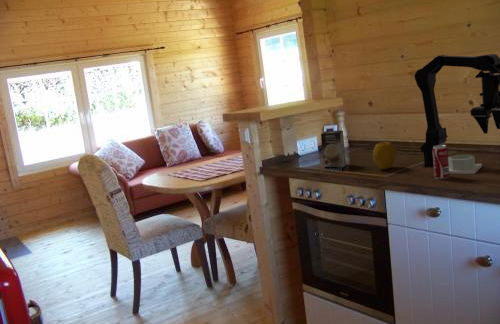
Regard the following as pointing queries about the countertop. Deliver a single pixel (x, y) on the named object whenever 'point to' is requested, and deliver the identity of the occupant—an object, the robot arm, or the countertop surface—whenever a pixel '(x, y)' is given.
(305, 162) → the countertop surface
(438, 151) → the soda can
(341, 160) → the coffee box
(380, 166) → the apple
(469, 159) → the can holder
